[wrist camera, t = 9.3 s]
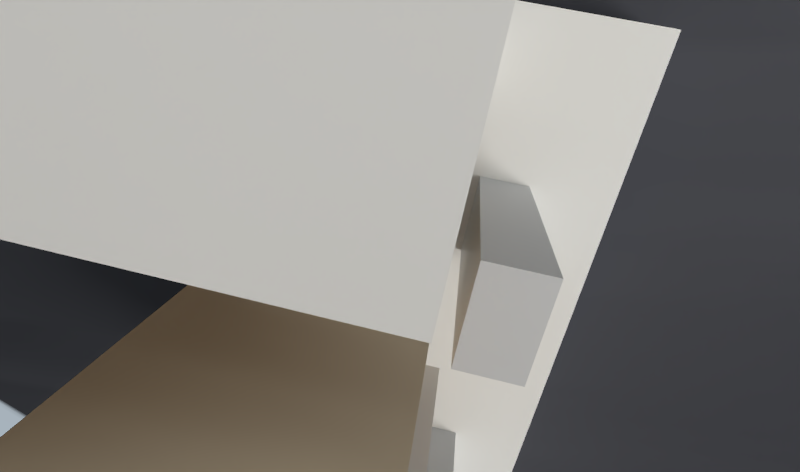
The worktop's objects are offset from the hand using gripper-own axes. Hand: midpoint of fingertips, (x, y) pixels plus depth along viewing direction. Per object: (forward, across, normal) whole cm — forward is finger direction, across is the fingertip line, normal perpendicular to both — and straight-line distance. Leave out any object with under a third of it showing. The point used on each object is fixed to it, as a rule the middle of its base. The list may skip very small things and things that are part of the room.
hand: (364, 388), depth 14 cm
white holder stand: (+5, 0, 0) cm, 5 cm away
